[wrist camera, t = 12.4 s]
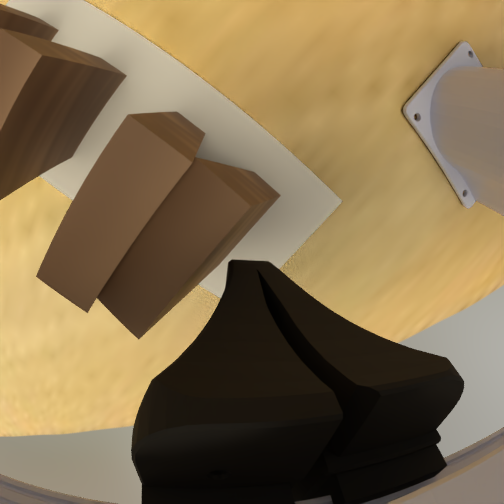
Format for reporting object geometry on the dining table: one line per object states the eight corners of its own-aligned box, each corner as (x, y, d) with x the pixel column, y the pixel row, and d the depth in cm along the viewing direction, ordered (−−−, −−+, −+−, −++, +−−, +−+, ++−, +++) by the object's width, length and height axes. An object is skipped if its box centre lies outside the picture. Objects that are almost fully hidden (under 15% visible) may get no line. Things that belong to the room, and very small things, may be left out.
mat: (338, 198, 18) (342, 201, 17) (238, 304, 20) (239, 309, 20) (34, -25, 9) (30, -28, 8) (-43, 104, 11) (-48, 105, 11)
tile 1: (281, 195, 16) (251, 206, 7) (218, 265, 17) (138, 339, 9) (254, 171, 16) (195, 157, 7) (194, 243, 17) (95, 296, 9)
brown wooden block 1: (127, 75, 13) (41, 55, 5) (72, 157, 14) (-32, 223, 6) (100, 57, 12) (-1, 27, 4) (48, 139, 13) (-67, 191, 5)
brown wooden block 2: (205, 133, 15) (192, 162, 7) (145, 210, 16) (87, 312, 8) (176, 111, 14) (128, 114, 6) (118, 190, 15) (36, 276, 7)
